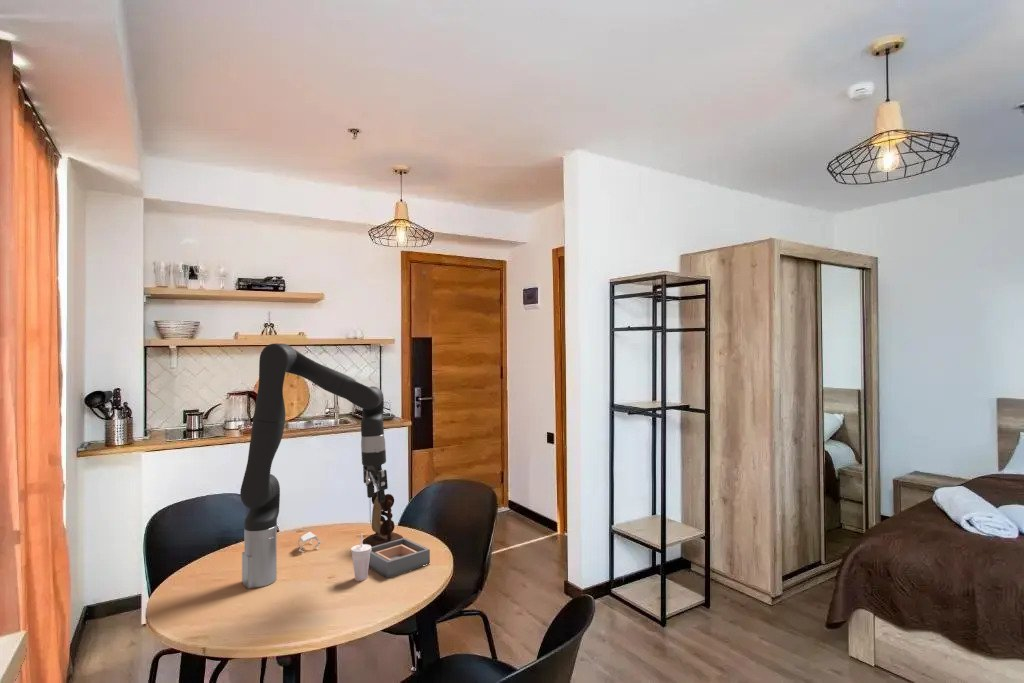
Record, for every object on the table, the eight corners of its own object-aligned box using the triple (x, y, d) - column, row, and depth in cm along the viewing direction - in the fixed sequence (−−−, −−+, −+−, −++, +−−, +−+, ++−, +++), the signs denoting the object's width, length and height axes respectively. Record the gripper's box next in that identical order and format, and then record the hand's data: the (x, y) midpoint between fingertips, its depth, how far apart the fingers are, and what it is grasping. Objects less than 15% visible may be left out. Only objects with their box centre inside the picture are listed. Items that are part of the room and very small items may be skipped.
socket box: (387, 578, 167) (387, 562, 167) (363, 564, 179) (363, 549, 179) (429, 564, 178) (429, 549, 178) (404, 551, 190) (404, 537, 190)
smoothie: (373, 573, 171) (373, 530, 171) (369, 582, 164) (368, 537, 165) (353, 574, 171) (353, 530, 171) (348, 582, 164) (348, 537, 165)
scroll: (355, 546, 196) (355, 492, 196) (390, 536, 206) (390, 485, 206) (374, 557, 185) (374, 500, 185) (410, 547, 195) (410, 492, 195)
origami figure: (322, 552, 190) (322, 538, 190) (297, 556, 187) (297, 542, 187) (320, 541, 201) (320, 528, 201) (296, 544, 198) (296, 531, 198)
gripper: (354, 448, 172) (356, 498, 172) (370, 453, 161) (373, 507, 161) (376, 445, 177) (378, 493, 176) (393, 449, 165) (396, 501, 165)
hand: (376, 499), depth 169 cm, fingers open, 8 cm apart
